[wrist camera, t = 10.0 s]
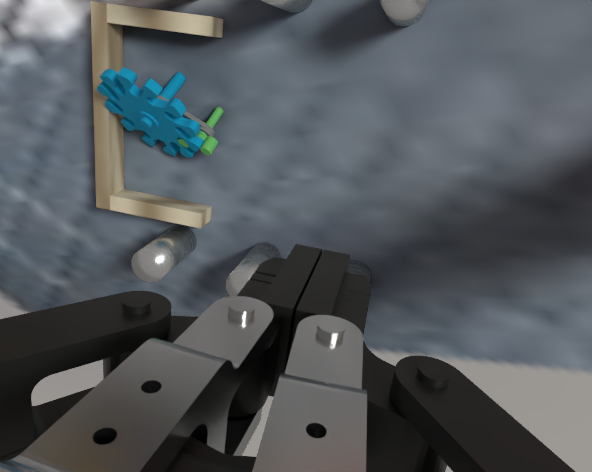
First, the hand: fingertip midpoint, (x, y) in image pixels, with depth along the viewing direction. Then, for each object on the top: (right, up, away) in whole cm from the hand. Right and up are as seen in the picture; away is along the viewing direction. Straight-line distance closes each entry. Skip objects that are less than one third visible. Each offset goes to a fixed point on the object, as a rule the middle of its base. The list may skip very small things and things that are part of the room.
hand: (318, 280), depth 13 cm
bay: (-13, +12, +32) cm, 37 cm away
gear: (-12, +13, +32) cm, 37 cm away
